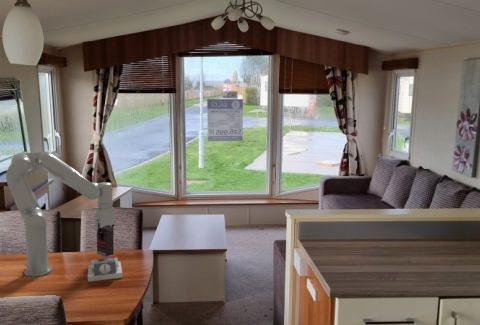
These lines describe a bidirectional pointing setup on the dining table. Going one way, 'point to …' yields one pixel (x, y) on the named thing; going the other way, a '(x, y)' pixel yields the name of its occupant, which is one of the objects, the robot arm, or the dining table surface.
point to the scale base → (104, 271)
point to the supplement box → (105, 243)
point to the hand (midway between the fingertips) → (105, 238)
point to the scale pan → (103, 261)
